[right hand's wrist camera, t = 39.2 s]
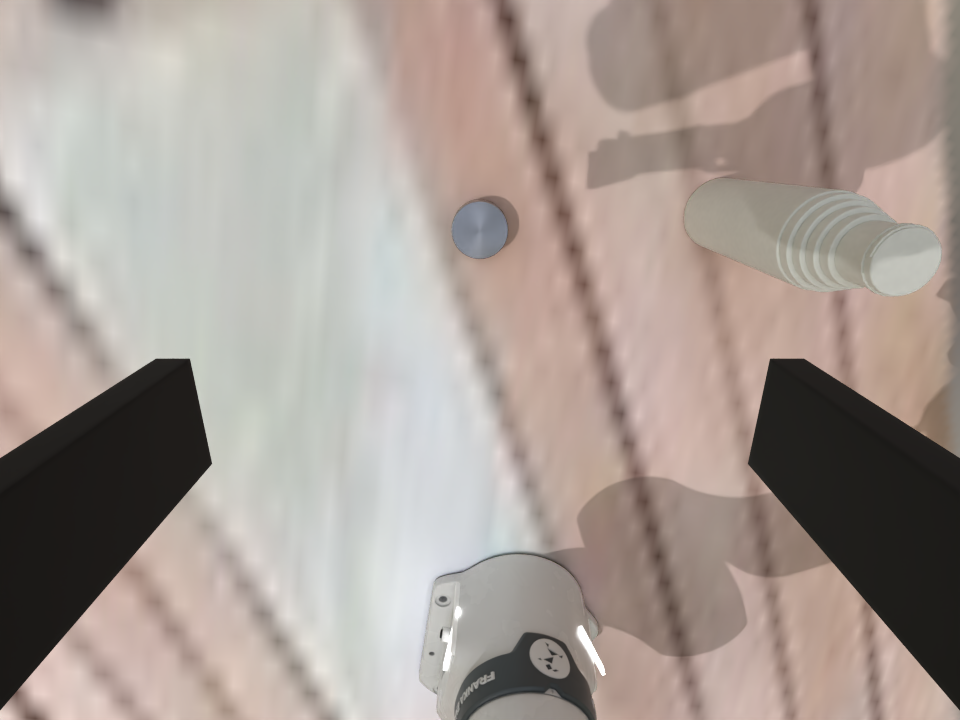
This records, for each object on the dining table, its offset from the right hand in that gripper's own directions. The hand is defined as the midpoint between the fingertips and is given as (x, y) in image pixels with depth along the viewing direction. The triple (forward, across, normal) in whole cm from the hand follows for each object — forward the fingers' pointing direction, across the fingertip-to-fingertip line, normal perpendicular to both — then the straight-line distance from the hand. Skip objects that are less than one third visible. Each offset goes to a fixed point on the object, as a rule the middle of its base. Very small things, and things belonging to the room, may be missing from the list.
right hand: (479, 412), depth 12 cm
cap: (+32, 0, 0) cm, 32 cm away
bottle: (+33, +19, +1) cm, 39 cm away
